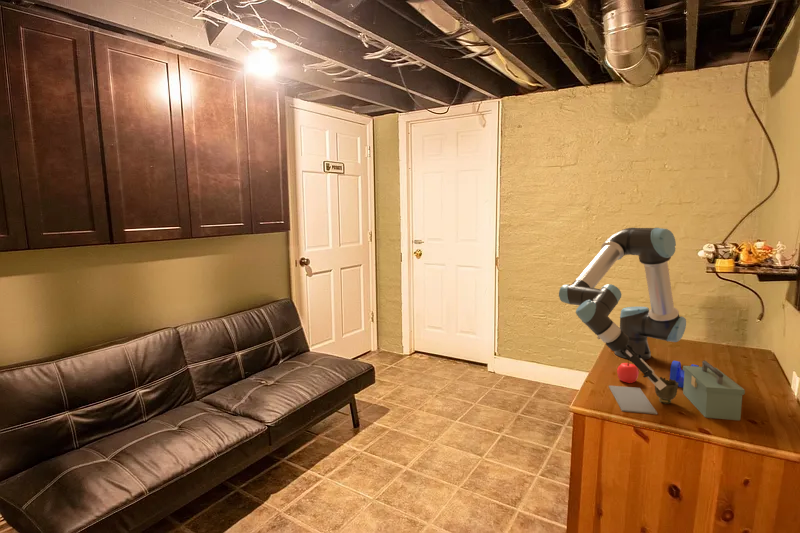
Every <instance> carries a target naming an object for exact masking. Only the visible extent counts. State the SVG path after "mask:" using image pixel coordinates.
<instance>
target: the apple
mask: <svg viewBox="0 0 800 533" xmlns="http://www.w3.org/2000/svg"><path fill="white" fill-rule="evenodd" d="M639 371H640V370H639V369H638V368H637V367H636V366H635V365H634V364H633V363H630V361H628V362H622V363H620V364H619V365H618V366H617V369H616V373H617V378H618V379H619V380H620V381H621V382H623V383H626V384H632V383H636V381H637V380H638V377H639V374H640V372H639Z"/></svg>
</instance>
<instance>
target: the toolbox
mask: <svg viewBox="0 0 800 533" xmlns="http://www.w3.org/2000/svg"><path fill="white" fill-rule="evenodd" d="M701 363H702V366H699V367H696V366H691V365H682V370H684V386H683V388H682V393H683V395H684V396H685V397H686V398H687V399H688V401H689V402H690V403H691V404H692V405H693V406H694V408H696V409H697V410H698V412H699V413H700V414H701V415H703V417H704V418H706V419H719V420H721V419H722V420H731V421H741V415H742V403H743V396H744V395H745V394H746V390H745V389H744V388H743V387H742V386H741V385H739V384H738V383H736V381H734V380H733V379H732V378H730V377H729V376H728V375H726V374H725V373H724V372H722V371H721V370H720V369H719V368H717V367H715V366H713V365H712V364H710V363H709V362H708V361H707V360H702V362H701Z"/></svg>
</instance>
